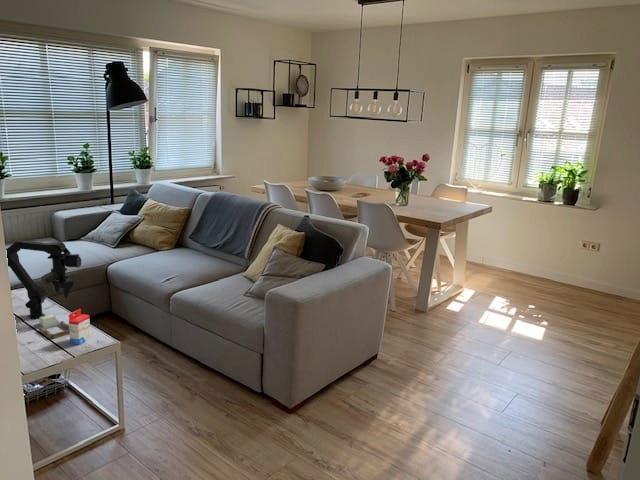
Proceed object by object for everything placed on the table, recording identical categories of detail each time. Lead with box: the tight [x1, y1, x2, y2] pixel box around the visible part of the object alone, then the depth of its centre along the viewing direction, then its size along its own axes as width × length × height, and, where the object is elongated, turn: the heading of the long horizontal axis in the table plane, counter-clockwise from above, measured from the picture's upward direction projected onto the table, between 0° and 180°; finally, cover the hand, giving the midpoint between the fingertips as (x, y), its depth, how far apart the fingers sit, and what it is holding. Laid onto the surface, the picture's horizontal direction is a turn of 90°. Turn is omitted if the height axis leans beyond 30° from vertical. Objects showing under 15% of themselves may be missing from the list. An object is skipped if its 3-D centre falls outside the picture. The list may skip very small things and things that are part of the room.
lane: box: [38, 320, 70, 340], centre depth 240 cm, size 13×11×2 cm
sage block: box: [39, 313, 57, 327], centre depth 247 cm, size 4×6×4 cm, turn 142°
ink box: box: [68, 308, 91, 346], centre depth 231 cm, size 8×5×15 cm, turn 168°
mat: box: [34, 319, 61, 330], centre depth 247 cm, size 8×10×1 cm
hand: (61, 295), depth 255 cm, fingers open, 9 cm apart
